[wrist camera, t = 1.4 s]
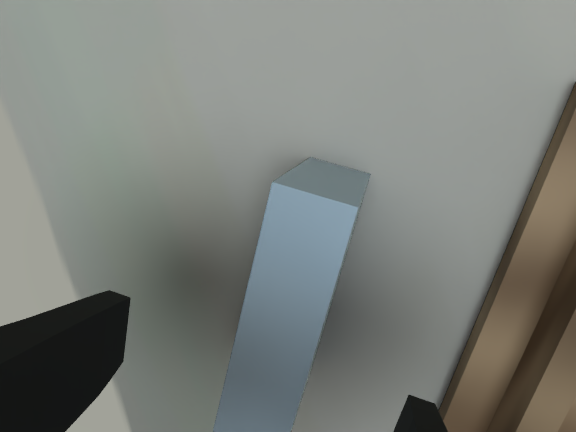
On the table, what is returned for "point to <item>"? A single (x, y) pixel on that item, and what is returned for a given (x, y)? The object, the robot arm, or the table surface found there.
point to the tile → (289, 294)
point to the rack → (527, 314)
